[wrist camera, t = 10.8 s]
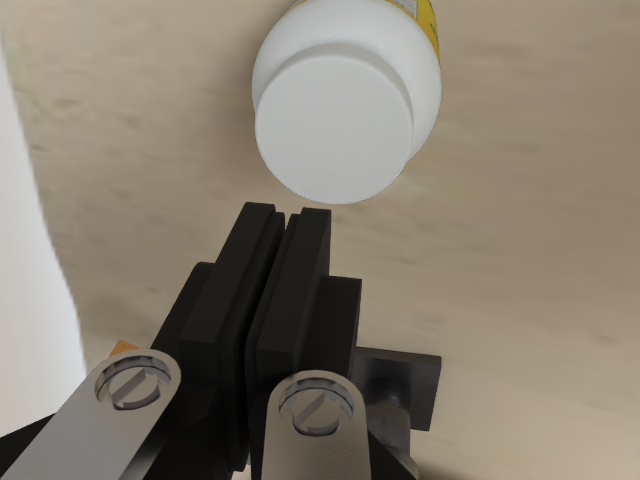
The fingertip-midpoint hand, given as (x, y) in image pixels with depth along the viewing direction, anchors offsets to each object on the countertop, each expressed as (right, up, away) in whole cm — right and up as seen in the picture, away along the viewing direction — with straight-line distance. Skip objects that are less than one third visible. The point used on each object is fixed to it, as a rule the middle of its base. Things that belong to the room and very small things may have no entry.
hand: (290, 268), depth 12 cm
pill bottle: (+3, +10, +15) cm, 18 cm away
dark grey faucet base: (+5, -9, +27) cm, 29 cm away
